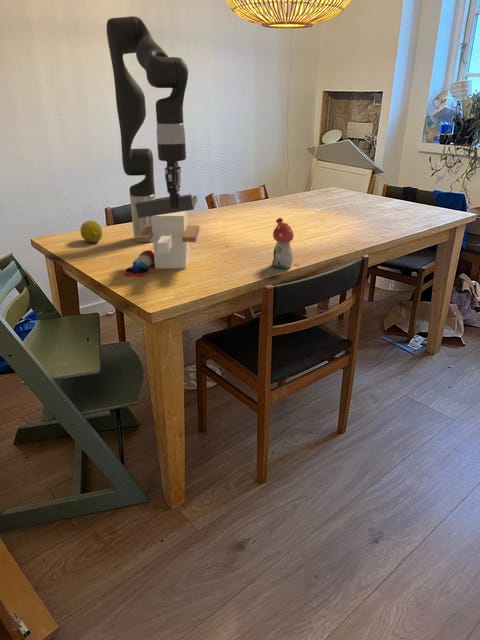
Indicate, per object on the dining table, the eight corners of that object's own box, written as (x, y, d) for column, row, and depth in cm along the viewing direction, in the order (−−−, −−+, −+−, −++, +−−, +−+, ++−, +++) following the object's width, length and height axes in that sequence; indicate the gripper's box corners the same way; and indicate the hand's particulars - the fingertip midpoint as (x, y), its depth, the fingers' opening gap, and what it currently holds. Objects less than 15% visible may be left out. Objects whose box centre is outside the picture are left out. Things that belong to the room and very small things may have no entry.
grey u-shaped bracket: (146, 208, 148) (143, 195, 146) (197, 200, 146) (194, 187, 145) (138, 218, 136) (135, 204, 134) (193, 209, 135) (190, 195, 133)
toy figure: (145, 282, 147) (162, 260, 159) (141, 268, 145) (159, 246, 157) (123, 282, 149) (142, 260, 161) (118, 268, 147) (138, 246, 159)
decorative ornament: (271, 260, 161) (272, 216, 154) (290, 260, 161) (292, 216, 154) (272, 270, 152) (274, 223, 146) (293, 270, 152) (295, 223, 146)
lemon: (105, 244, 179) (102, 223, 175) (83, 246, 176) (80, 225, 173) (101, 237, 188) (98, 216, 184) (80, 239, 185) (77, 218, 182)
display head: (148, 258, 163) (144, 208, 156) (201, 258, 163) (199, 208, 156) (135, 281, 143) (129, 225, 136) (195, 281, 143) (192, 225, 136)
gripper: (182, 144, 122) (185, 211, 129) (187, 139, 134) (190, 201, 142) (152, 144, 122) (158, 211, 129) (161, 139, 134) (165, 201, 142)
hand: (175, 206), depth 135 cm, fingers closed on grey u-shaped bracket, 2 cm apart
